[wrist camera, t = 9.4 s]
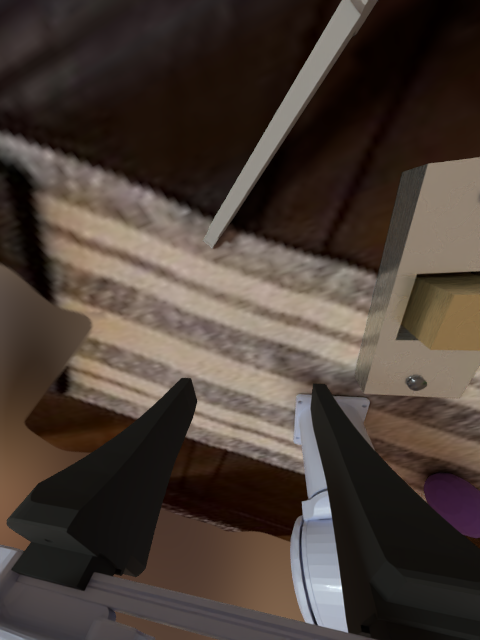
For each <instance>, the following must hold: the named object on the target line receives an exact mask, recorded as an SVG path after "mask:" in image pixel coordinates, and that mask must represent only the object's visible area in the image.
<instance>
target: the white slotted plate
mask: <svg viewBox="0 0 480 640" xmlns="http://www.w3.org/2000/svg"><path fill="white" fill-rule="evenodd" d="M472 271H474V273H473V274H475V275H478V276H480V157H479V158H471V159H463V160H455V161H447V162H439V163H431V164H426V165H423V166H420V167H417V168H414V169H411V170H407V171H404V172H402V176H401V180H400V184H399V189H398V193H397V197H396V201H395V206H394V210H393V214H392V218H391V223H390V227H389V231H388V235H387V240H386V244H385V248H384V252H383V256H382V261H381V265H380V269H379V273H378V278H377V282H376V286H375V290H374V295H373V299H372V303H371V307H370V312H369V316H368V320H367V324H366V329H365V333H364V337H363V341H362V345H361V350H360V354H359V358H358V362H357V367H356V371H355V375H354V376H355V378H356V380H357V382H358V384H359V386H360V388H361V390H362V392H363V394H379V395H400V396H420V397H441V398H460V397H461V396H462V394H463V392H464V391H465V389H466V387H467V386H468V384H469V382H470V381H471V379H472V377H473V376H474V374H475V372H476V371H477V369H478V367H479V366H480V351H465V350H430V349H429V348H428V347H426V346H425V345H424V344H423V343H422V342H421V341H419V340H418V339H417V338H416V337H415V336H414V335H412V334H411V333H410V332H409V331H408V330H407V329H406V328H404V327H403V326H402V325H401V322H402V319H403V316H404V313H405V310H406V306H407V303H408V300H409V297H410V294H411V291H412V288H413V285H414V282H415V279H416V276H417V274H426V273H449V272H472Z"/></svg>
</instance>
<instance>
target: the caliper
mask: <svg viewBox="0 0 480 640" xmlns="http://www.w3.org/2000/svg"><path fill="white" fill-rule="evenodd" d="M377 1H378V0H342V1H341V3H340V5H339V6H338V8H337V10H336V12H335V13H334V15H333V17H332V18H331V20H330V22H329V23H328V25H327V27H326V29H325V30H324V32H323V34H322V35H321V37H320V39H319V41H318V42H317V44H316V46H315V47H314V49H313V51H312V52H311V54H310V56H309V58H308V59H307V61H306V63H305V64H304V66H303V68H302V70H301V71H300V73H299V75H298V76H297V78H296V80H295V81H294V83H293V85H292V87H291V88H290V90H289V92H288V93H287V95H286V97H285V99H284V100H283V102H282V104H281V105H280V107H279V109H278V110H277V112H276V114H275V116H274V117H273V119H272V121H271V122H270V124H269V126H268V128H267V129H266V131H265V133H264V134H263V136H262V138H261V139H260V141H259V143H258V145H257V146H256V148H255V150H254V151H253V153H252V155H251V157H250V158H249V160H248V162H247V163H246V165H245V167H244V168H243V170H242V172H241V174H240V175H239V177H238V179H237V180H236V182H235V184H234V186H233V187H232V189H231V191H230V192H229V194H228V196H227V198H226V199H225V201H224V203H223V204H222V206H221V208H220V210H219V211H218V213H217V215H216V216H215V218H214V220H213V221H212V223H211V225H210V227H209V228H208V233H207V234H206V236H205V238H204V240H203V241H204V242H205V243H207V244H208V245H209V246H210V247H211V248H213V247H214V246H215V244H216V243H217V241H218V239H219V238H220V236H221V235H222V234H223V233H224V231H225V230H226V228H227V227H228V225H229V224H230V222H231V221H232V219H233V218H234V216H235V215H236V213H237V212H238V210H239V209H240V207H241V206H242V204H243V203H244V201H245V200H246V198H247V196H248V195H249V193H250V192H251V190H252V189H253V187H254V186H255V184H256V183H257V181H258V180H259V178H260V177H261V175H262V173H263V172H264V170H265V169H266V167H267V166H268V164H269V163H270V161H271V160H272V158H273V157H274V155H275V154H276V152H277V150H278V149H279V147H280V146H281V144H282V143H283V141H284V140H285V138H286V137H287V135H288V134H289V132H290V131H291V129H292V127H293V126H294V124H295V123H296V121H297V120H298V118H299V117H300V115H301V114H302V112H303V111H304V109H305V108H306V106H307V105H308V103H309V101H310V100H311V98H312V97H313V95H314V94H315V92H316V91H317V89H318V88H319V86H320V85H321V83H322V82H323V80H324V79H325V77H326V75H327V74H328V72H329V71H330V69H331V68H332V66H333V65H334V63H335V62H336V60H337V59H338V57H339V56H340V54H341V53H342V51H343V49H344V48H345V46H346V45H347V43H348V42H349V40H350V39H351V37H352V36H353V35H354V36H355V35H356V33H357V32H358V30H359V29H360V27H361V26H362V24H363V23H364V21H365V19H366V18H367V16H368V15H369V13H370V11H371V10H372V8H373V7H374V5H375V4H376V2H377Z"/></svg>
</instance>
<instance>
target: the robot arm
mask: <svg viewBox="0 0 480 640" xmlns="http://www.w3.org/2000/svg"><path fill="white" fill-rule="evenodd" d="M196 404H197V399H196V395H195V391H194V387H193V384H192V380H191V378H181V379H180V380H179V381H178V382H177V383H176V384H175V385H174V386H173V387H172V388H171V389H170V390H169V391H168V392H167V393H166V394H165V395H164V396H163V397H162V398H161V399H160V400H159V401H158V402H157V403H155V404H154V405H153V406H152V407H151V408H150V409H149V410H148V411H147V412H145V413H144V414H143V415H142V416H141V417H140V418H139V419H137V420H136V421H135V422H134V423H133V424H131V425H130V426H129V427H128V428H126V429H125V430H124V431H122V432H121V433H120V434H118V435H117V436H116V437H114V438H113V439H111V440H110V441H108V442H107V443H105V444H104V445H103V446H101V447H100V448H98V449H97V450H95V451H94V452H92V453H91V454H89V455H87V456H86V457H84V458H83V459H81V460H79V461H78V462H76V463H75V464H73V465H71V466H69V467H68V468H66V469H64V470H62V471H60V472H58V473H57V474H55V475H53V476H51V477H50V478H48V479H46V480H44V481H42V482H40V483H38V485H37V486H36V487H35V488H34V489H33V490H32V491H31V493H30V494H29V495H28V496H27V497H26V498H25V500H24V501H23V502H22V503H21V504H20V505H19V506H18V508H17V509H16V510H15V511H14V512H13V513H12V515H11V516H10V517H9V518H8V519H7V526H8V527H9V528H11V529H12V530H13V531H15V532H16V533H18V534H19V535H21V536H23V537H24V538H26V539H27V540H29V541H30V542H31V543H30V545H29V546H28V547H27V549H26V550H25V551H23V550H20V549H17V548H13V547H9V546H4V545H0V640H155V638H154V637H152V636H149V635H147V634H144V633H142V632H140V631H138V630H137V629H136V628H133V627H130V626H127V625H124V624H121V623H118V622H115V620H116V615H115V612H114V611H116V612H120V613H124V614H128V615H131V616H135V617H138V618H142V619H146V620H149V621H153V622H157V623H160V624H164V625H168V626H172V627H175V628H179V629H183V630H186V631H190V632H193V633H197V634H201V635H205V636H208V637H212V638H215V639H219V640H480V549H479V548H478V547H477V546H475V545H474V544H473V543H472V542H471V541H470V540H468V539H467V538H466V537H465V536H464V535H462V534H461V533H460V532H459V531H458V530H457V529H455V528H454V527H453V526H452V525H451V524H450V523H449V522H447V521H446V520H445V519H444V518H443V517H442V516H441V515H440V514H438V513H437V512H436V511H435V510H434V509H433V508H432V507H431V506H430V505H429V504H427V503H426V502H425V501H424V500H423V499H422V498H421V497H420V496H419V495H418V494H417V493H416V492H415V491H414V490H413V489H412V488H411V487H410V486H409V485H408V484H407V483H406V482H405V481H403V480H402V479H401V478H400V477H399V476H398V475H397V474H396V473H395V472H394V471H393V470H392V468H391V467H390V466H389V465H388V464H387V463H386V462H385V461H384V460H383V459H382V458H381V457H380V456H379V455H378V453H377V452H376V451H375V449H374V447H373V445H372V442H371V440H370V438H369V435H368V433H367V431H366V428H365V426H364V420H365V417H366V414H367V411H368V407H369V404H370V401H369V399H368V398H365V397H345V396H333V395H332V394H331V392H330V391H329V389H328V387H327V386H326V385H325V384H313V389H312V395H307V394H299V395H297V396H296V408H295V425H294V443H295V444H300V445H302V452H303V460H304V468H305V476H306V484H307V492H308V500H307V501H303V502H302V509H303V515H302V516H299V517H298V518H297V520H296V522H295V525H294V529H293V532H292V537H291V547H290V553H291V569H292V577H293V582H294V588H295V593H296V597H297V601H298V604H299V607H300V610H301V613H302V615H303V618H304V620H305V622H301V621H297V620H293V619H288V618H284V617H280V616H276V615H272V614H267V613H263V612H259V611H255V610H251V609H246V608H242V607H238V606H234V605H230V604H226V603H222V602H217V601H213V600H209V599H204V598H200V597H197V596H192V595H188V594H183V593H180V592H176V591H171V590H167V589H163V588H159V587H155V586H150V585H146V584H142V583H138V582H133V581H130V580H125V579H121V578H117V577H113V575H114V574H116V575H120V576H121V575H122V574H125V575H130V576H134V577H137V576H139V575H140V574H141V573H142V572H143V571H144V570H145V568H146V564H147V560H148V556H149V551H150V547H151V544H152V539H153V535H154V531H155V528H156V523H157V520H158V516H159V513H160V509H161V505H162V502H163V498H164V495H165V492H166V488H167V485H168V482H169V479H170V475H171V472H172V469H173V466H174V463H175V460H176V458H177V455H178V453H179V450H180V448H181V445H182V443H183V441H184V438H185V436H186V433H187V431H188V428H189V426H190V424H191V421H192V419H193V415H194V412H195V408H196Z"/></svg>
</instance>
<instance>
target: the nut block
mask: <svg viewBox="0 0 480 640" xmlns="http://www.w3.org/2000/svg"><path fill="white" fill-rule="evenodd" d="M401 325H402V326H403V327H404V328H406V329H407V330H408V331H409V332H410V333H411V334H412V335H414V336H415V337H416V338H417V339H418V340H419V341H421V342H422V343H423V344H424V345H425V346H426V347H428V348H429V349H430V350H465V351H480V276H478V275H475V274H472V273H468V272H449V273H426V274H417V276H416V279H415V282H414V285H413V288H412V291H411V294H410V297H409V300H408V303H407V306H406V310H405V313H404V316H403V319H402V322H401Z"/></svg>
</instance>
